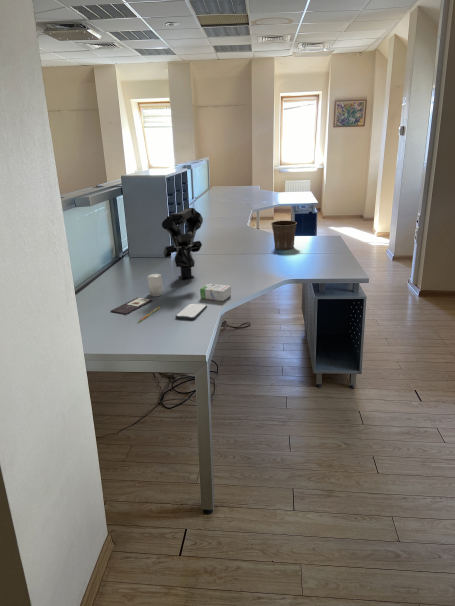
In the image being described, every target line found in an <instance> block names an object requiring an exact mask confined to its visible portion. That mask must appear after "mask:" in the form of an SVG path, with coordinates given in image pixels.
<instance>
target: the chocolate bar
mask: <svg viewBox="0 0 455 606" xmlns="http://www.w3.org/2000/svg"><path fill="white" fill-rule="evenodd" d="M152 302H153V299H148V298H143V297H135V298H133V299H131V300H130V301H127V302H125V303H124V304H121V305H119V306H117V307H116V308H115V307H114V308H113V309H111V310H110V313H116V314H120V315H125V316H126V315H127V316H128V315H129V314H132V313H133V312H135V311H137V310H138V309H141V308H142V307H145V306H146V305H149V304H150V303H152Z"/></svg>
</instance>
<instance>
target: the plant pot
mask: <svg viewBox="0 0 455 606" xmlns="http://www.w3.org/2000/svg"><path fill="white" fill-rule="evenodd" d="M297 224H298V222H297V221H296V220H295V221H294V220H277V221H273V222H271V223H270V225H271V227H272V232H273V241H274V243H273V244H274V249H276V250H281V251H284V250H292V249H294V246H295V238H296V236H295V235H296V229H297Z"/></svg>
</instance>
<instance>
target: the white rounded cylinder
mask: <svg viewBox="0 0 455 606" xmlns="http://www.w3.org/2000/svg"><path fill="white" fill-rule="evenodd" d="M147 281H148V282H147V283H148V292H149V296H151V297H158V296H162V295H163V294H164V288H163V279H162V274H160V273H152V274H149V275H147Z"/></svg>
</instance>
